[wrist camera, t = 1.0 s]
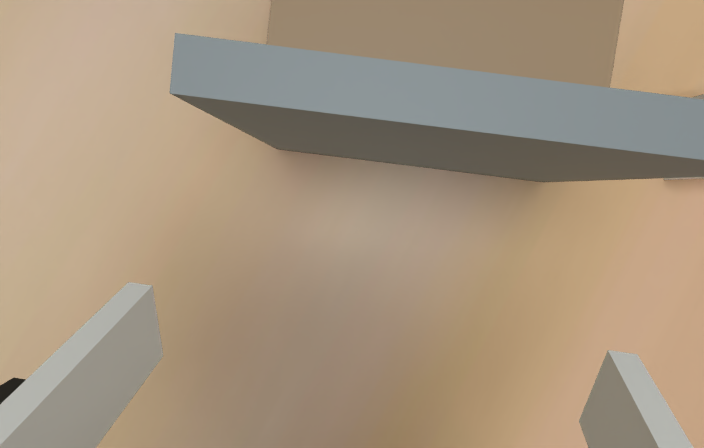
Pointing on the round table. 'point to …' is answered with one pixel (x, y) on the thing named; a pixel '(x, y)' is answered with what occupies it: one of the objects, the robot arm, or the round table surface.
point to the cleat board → (446, 89)
